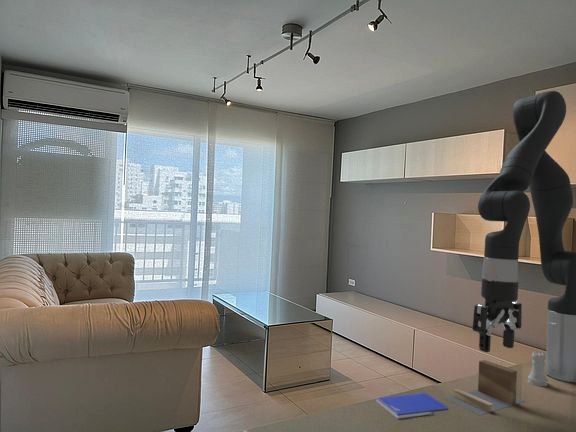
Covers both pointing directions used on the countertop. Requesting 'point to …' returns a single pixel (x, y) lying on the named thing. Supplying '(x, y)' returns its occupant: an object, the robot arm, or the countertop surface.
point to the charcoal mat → (496, 402)
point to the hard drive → (411, 405)
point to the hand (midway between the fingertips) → (496, 349)
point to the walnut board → (497, 381)
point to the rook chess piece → (538, 370)
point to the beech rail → (473, 400)
